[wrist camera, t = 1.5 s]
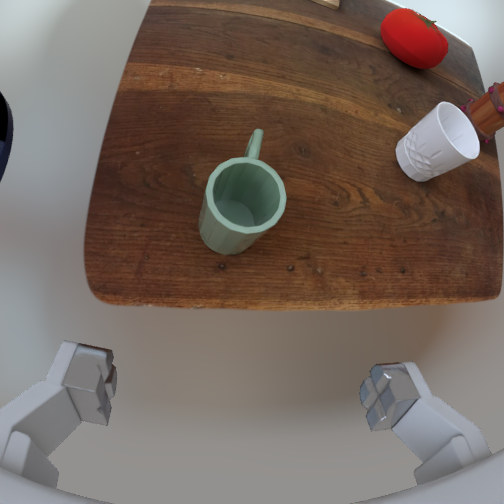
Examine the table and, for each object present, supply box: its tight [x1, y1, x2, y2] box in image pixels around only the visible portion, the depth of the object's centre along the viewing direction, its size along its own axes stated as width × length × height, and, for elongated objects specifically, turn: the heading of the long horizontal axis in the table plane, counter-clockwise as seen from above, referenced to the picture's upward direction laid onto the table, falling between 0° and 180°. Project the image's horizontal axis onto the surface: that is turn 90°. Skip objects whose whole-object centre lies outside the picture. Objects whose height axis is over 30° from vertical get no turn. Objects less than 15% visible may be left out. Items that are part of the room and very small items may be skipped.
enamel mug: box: [198, 129, 287, 255], centre depth 28 cm, size 10×6×9 cm, turn 168°
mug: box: [461, 82, 504, 143], centre depth 39 cm, size 15×8×15 cm, turn 130°
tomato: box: [381, 8, 448, 69], centre depth 40 cm, size 11×13×10 cm
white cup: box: [396, 102, 480, 182], centre depth 35 cm, size 8×8×10 cm
